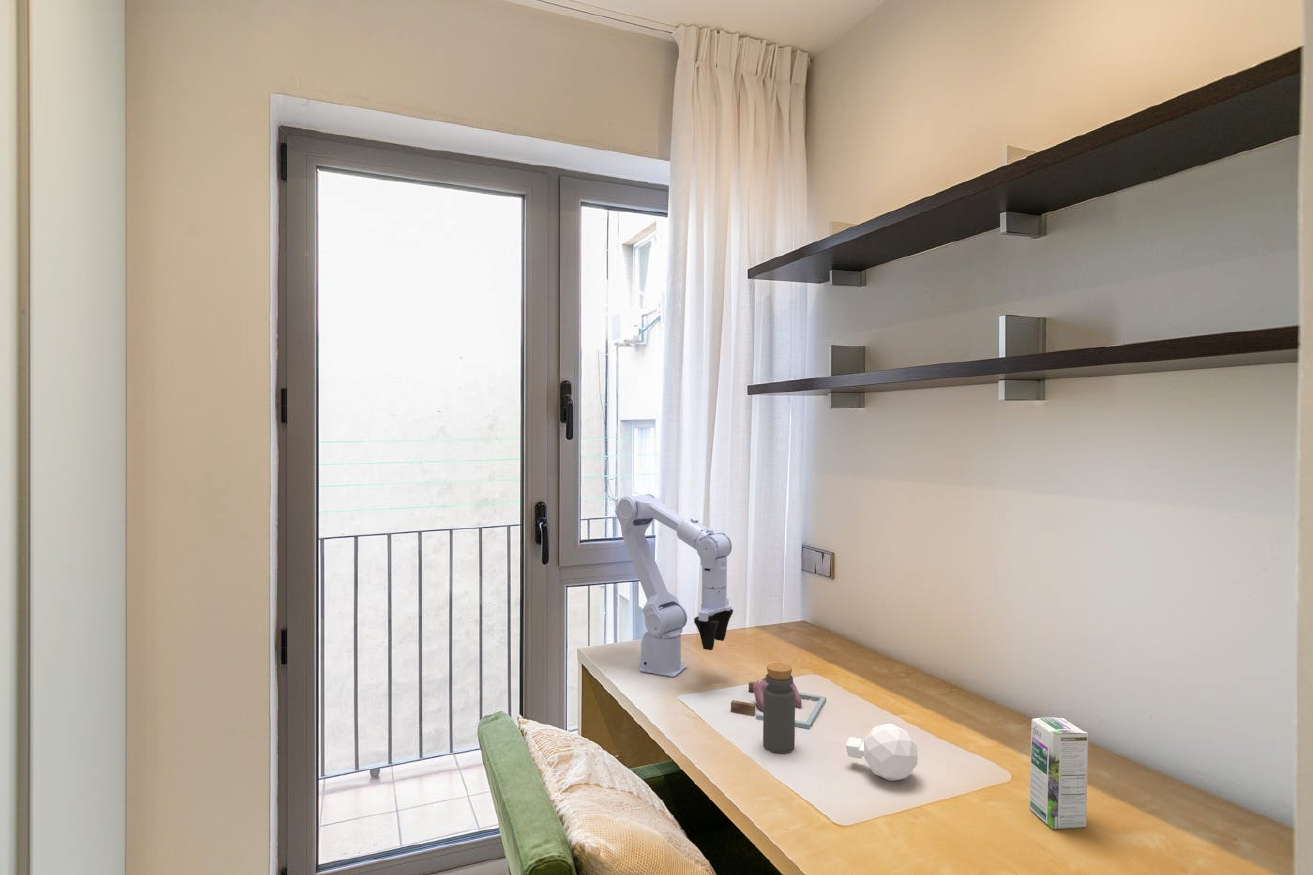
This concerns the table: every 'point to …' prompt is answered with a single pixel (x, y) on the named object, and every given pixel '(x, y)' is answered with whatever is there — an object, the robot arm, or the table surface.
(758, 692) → the video game controller
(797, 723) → the frame
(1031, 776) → the syrup box
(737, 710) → the wooden blocks
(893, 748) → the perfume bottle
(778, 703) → the bottle
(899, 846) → the table surface
